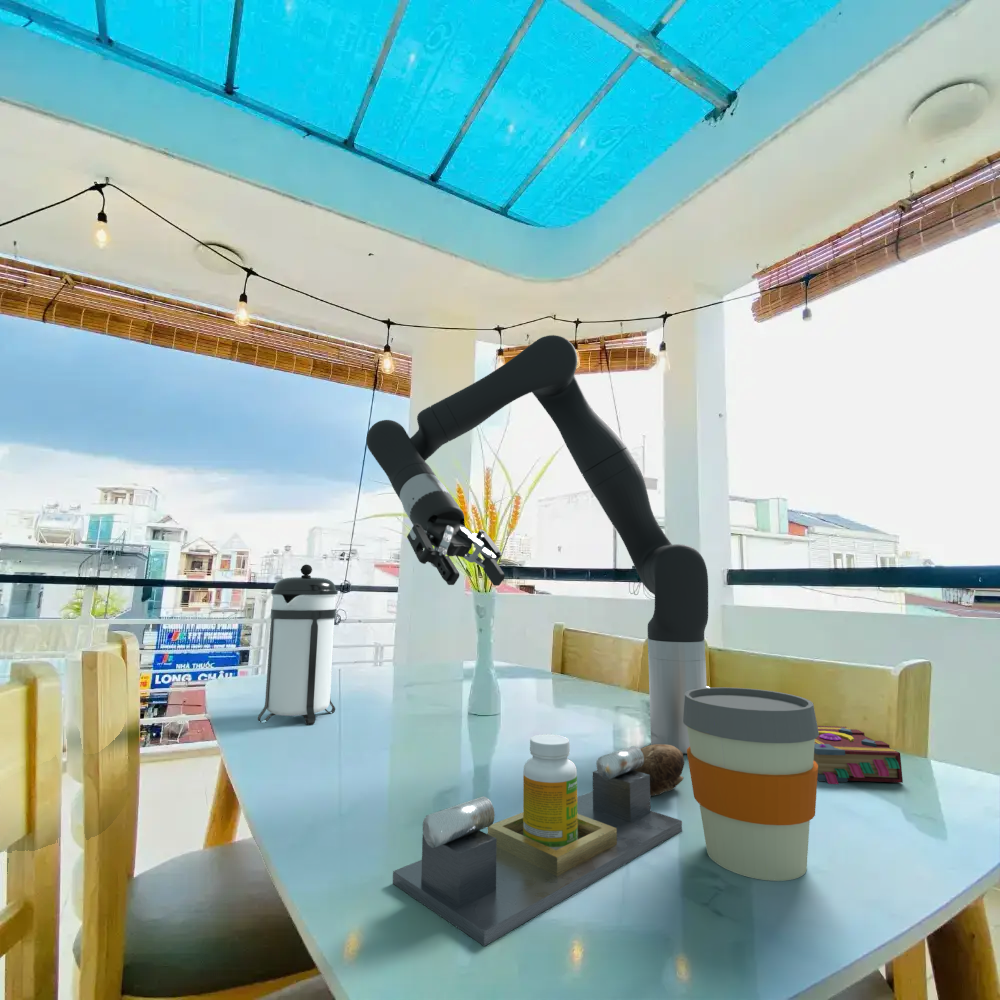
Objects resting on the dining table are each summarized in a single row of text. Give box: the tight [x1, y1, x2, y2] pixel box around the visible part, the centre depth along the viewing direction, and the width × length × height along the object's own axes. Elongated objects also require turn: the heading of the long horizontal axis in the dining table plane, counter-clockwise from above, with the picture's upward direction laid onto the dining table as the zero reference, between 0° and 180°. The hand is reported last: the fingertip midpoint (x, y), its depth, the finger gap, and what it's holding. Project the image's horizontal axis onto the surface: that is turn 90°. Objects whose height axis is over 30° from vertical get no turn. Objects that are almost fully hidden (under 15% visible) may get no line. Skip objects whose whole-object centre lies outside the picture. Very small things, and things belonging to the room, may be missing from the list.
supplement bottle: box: [522, 733, 578, 850], centre depth 57 cm, size 5×5×10 cm
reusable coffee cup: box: [683, 686, 819, 882], centre depth 56 cm, size 12×13×15 cm
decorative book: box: [814, 725, 904, 785], centre depth 84 cm, size 11×16×5 cm
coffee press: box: [257, 564, 339, 726], centre depth 115 cm, size 17×16×30 cm
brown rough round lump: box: [634, 744, 686, 797], centre depth 73 cm, size 8×8×6 cm
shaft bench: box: [392, 745, 683, 947], centre depth 56 cm, size 30×12×7 cm, turn 134°
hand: (478, 581), depth 79 cm, fingers open, 8 cm apart
